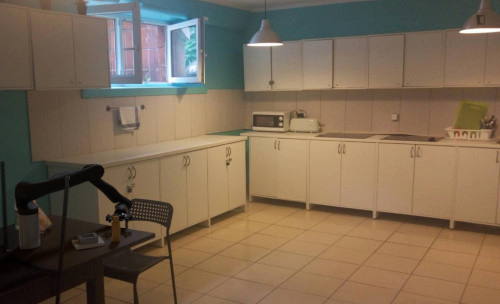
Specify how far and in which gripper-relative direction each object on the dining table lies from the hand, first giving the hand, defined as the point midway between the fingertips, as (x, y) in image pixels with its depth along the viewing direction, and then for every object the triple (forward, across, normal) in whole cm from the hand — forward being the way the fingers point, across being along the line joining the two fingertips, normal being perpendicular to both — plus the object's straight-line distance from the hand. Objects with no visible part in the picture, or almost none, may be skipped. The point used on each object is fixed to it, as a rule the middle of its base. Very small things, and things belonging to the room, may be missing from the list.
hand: (118, 220), depth 257 cm
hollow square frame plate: (+15, -14, +8) cm, 21 cm away
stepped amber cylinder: (+11, 0, +8) cm, 13 cm away
